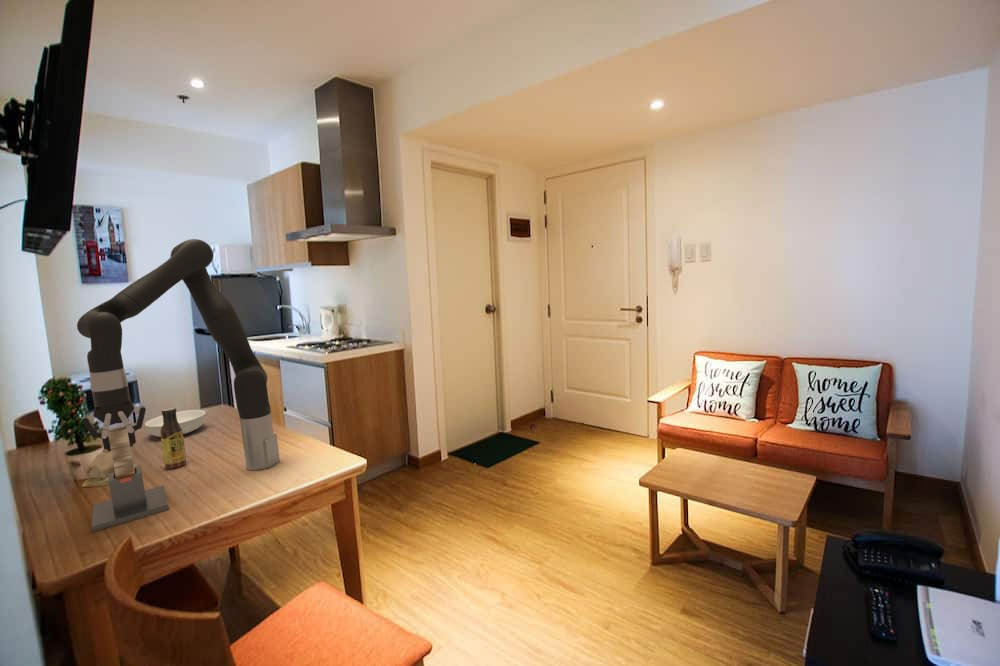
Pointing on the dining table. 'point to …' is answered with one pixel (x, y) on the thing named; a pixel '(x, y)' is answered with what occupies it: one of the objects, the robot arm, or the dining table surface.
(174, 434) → the sauce bottle
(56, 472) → the dining table surface
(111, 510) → the graphite stand
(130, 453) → the ash post
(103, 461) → the ceramic model
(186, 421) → the serving bowl
